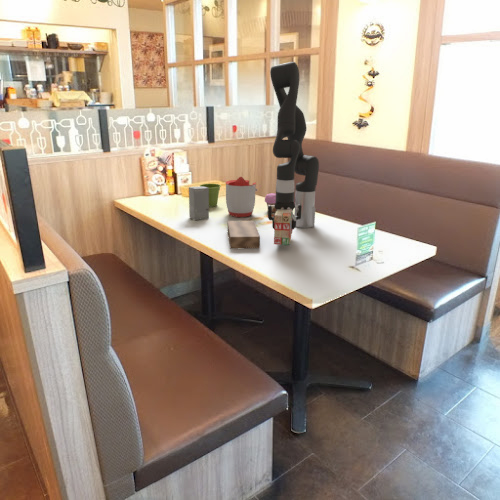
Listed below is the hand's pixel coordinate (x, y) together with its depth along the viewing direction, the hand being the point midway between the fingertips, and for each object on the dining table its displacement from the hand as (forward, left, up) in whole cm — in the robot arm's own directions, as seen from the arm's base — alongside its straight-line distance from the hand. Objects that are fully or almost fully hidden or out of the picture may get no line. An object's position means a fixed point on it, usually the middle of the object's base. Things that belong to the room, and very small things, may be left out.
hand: (283, 229), depth 186 cm
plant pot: (+30, -70, -7) cm, 76 cm away
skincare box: (+36, -43, -7) cm, 56 cm away
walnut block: (+17, -7, -7) cm, 19 cm away
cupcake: (-3, -55, -7) cm, 56 cm away
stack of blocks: (0, -1, -4) cm, 4 cm away
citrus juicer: (+14, -49, -7) cm, 51 cm away
